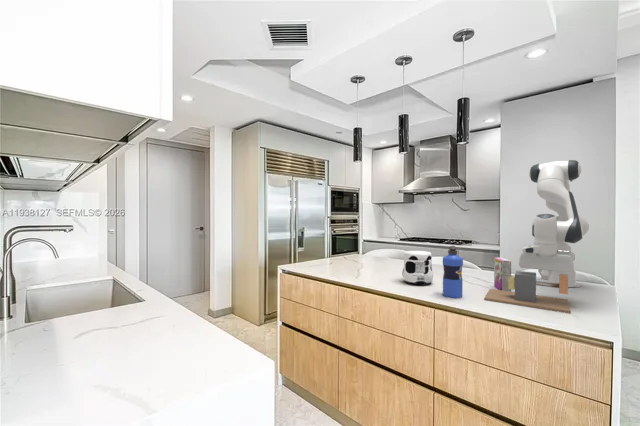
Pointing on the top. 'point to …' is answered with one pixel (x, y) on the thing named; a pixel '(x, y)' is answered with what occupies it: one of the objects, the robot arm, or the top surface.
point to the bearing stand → (527, 295)
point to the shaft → (561, 285)
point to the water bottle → (452, 274)
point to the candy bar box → (501, 273)
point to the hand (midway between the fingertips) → (545, 279)
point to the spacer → (511, 282)
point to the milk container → (417, 267)
